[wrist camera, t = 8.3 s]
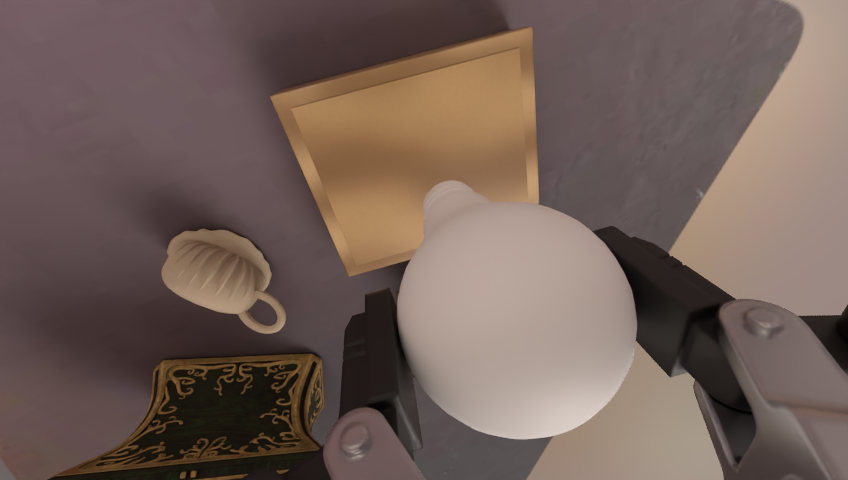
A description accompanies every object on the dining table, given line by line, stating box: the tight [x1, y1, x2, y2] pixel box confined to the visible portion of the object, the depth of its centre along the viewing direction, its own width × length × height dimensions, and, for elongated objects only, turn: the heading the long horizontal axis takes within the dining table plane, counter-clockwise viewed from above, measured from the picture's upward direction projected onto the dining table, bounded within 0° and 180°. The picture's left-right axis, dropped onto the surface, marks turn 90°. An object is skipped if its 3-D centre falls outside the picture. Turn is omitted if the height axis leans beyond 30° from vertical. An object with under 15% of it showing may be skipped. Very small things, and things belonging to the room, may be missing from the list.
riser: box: [270, 27, 539, 276], centre depth 21 cm, size 12×14×3 cm
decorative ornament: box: [161, 229, 286, 334], centre depth 22 cm, size 4×8×5 cm, turn 48°
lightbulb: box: [396, 180, 637, 439], centre depth 11 cm, size 6×6×11 cm
